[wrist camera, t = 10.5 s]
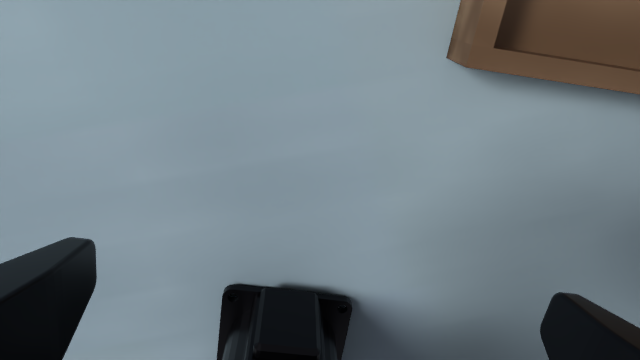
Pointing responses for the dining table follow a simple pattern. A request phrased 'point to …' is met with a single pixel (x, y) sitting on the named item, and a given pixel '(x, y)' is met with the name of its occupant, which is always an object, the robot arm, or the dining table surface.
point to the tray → (552, 40)
